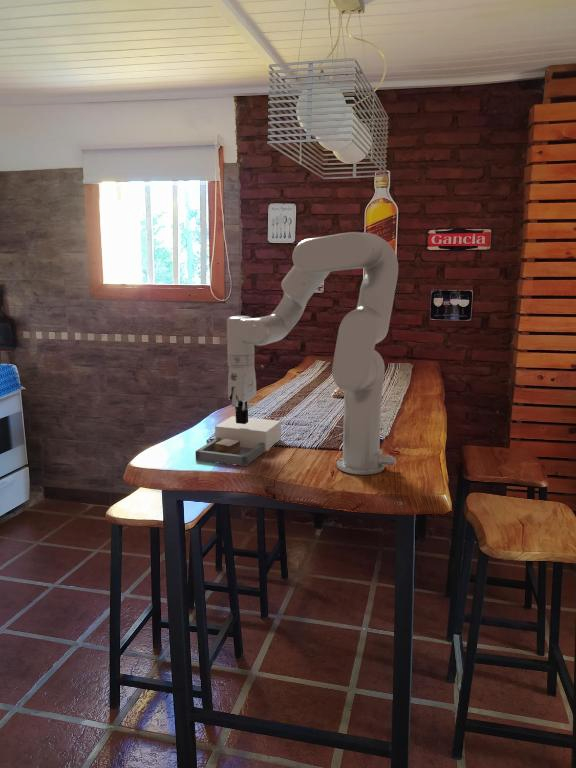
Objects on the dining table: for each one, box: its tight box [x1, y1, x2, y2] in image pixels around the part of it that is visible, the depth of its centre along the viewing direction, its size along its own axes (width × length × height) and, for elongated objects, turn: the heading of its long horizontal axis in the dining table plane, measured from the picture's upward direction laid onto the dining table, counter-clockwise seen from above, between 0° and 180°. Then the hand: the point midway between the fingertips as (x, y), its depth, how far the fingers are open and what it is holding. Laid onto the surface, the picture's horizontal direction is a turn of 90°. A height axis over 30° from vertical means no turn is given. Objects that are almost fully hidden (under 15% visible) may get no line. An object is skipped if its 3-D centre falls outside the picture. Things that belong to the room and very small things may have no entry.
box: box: [195, 438, 266, 467], centre depth 167 cm, size 15×13×3 cm
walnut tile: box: [215, 439, 240, 454], centre depth 168 cm, size 5×5×3 cm
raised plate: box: [214, 415, 282, 453], centre depth 178 cm, size 16×12×6 cm
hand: (242, 422), depth 173 cm, fingers closed
